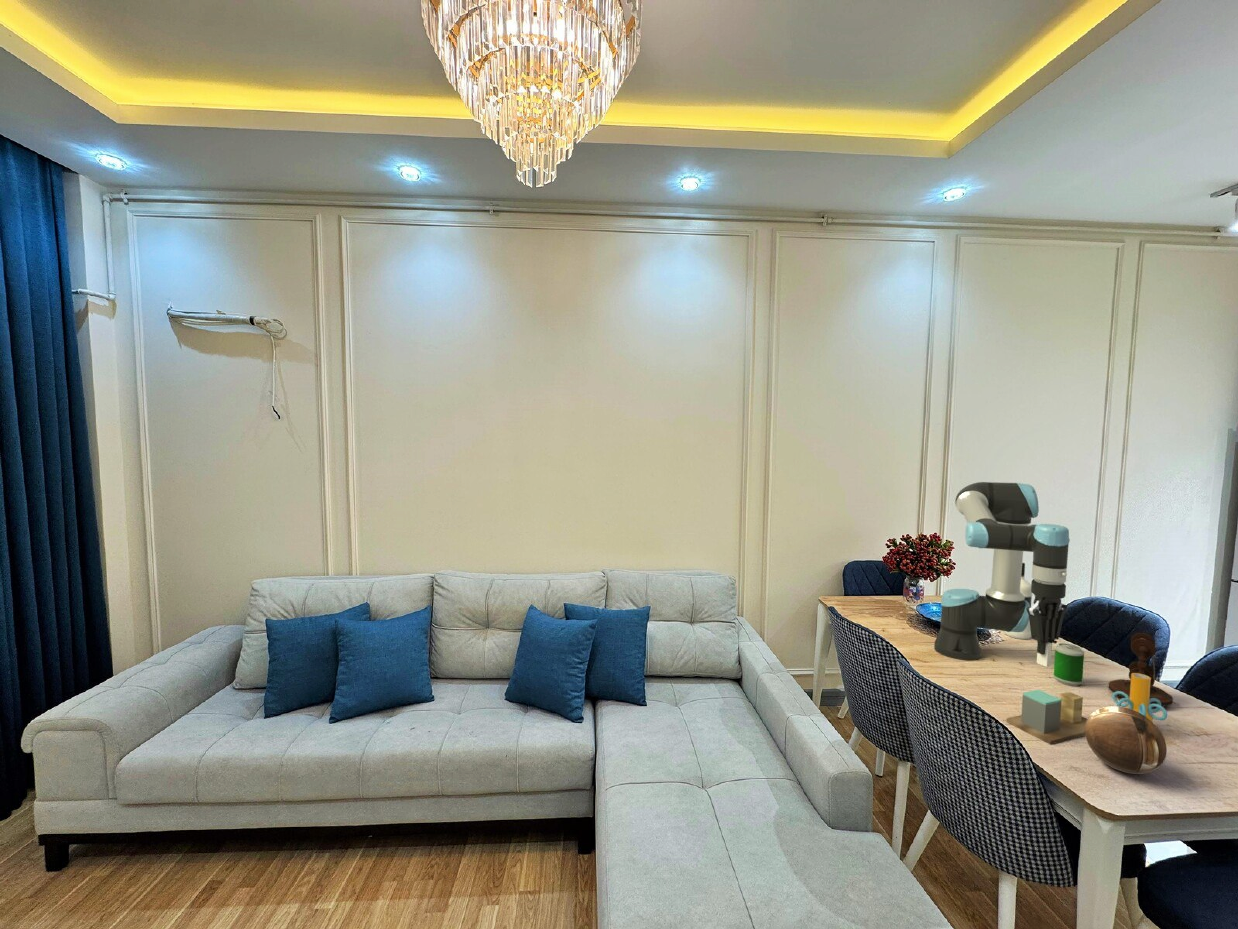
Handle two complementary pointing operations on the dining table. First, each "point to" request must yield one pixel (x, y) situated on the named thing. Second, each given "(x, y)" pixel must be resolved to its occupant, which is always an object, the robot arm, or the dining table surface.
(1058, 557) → the robot arm
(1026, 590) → the vodka
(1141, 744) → the bronze metallic ball
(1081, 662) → the soda can
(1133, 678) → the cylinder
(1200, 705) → the dining table surface
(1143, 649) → the turned wooden candlestick
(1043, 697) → the grey teal-topped block
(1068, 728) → the walnut board
